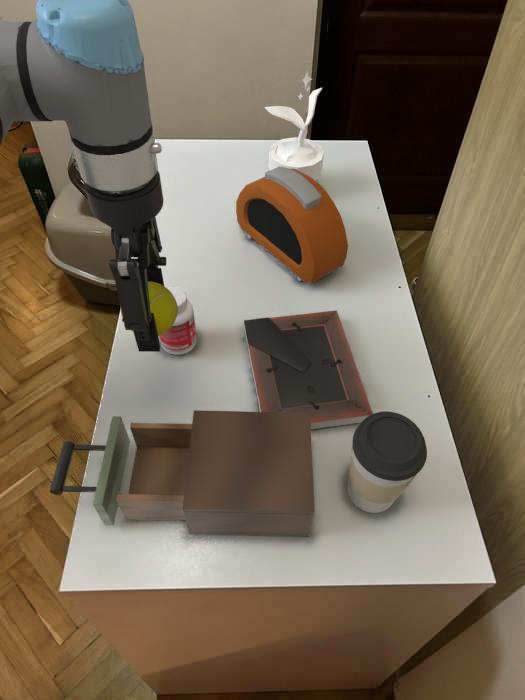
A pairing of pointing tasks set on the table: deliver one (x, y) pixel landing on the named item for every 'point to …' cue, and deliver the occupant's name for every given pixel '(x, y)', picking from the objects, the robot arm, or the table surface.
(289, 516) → the cabinet
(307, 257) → the alarm clock
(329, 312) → the picture frame
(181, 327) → the pill bottle
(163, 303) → the tennis ball
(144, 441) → the drawer
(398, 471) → the coffee cup
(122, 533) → the table surface
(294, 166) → the potted plant
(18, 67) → the robot arm
